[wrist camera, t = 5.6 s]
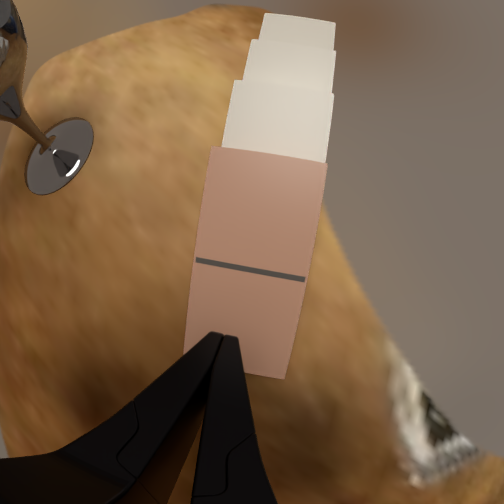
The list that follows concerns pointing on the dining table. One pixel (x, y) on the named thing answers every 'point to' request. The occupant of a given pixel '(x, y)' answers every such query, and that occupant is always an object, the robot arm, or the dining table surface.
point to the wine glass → (12, 110)
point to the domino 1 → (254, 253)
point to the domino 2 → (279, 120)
